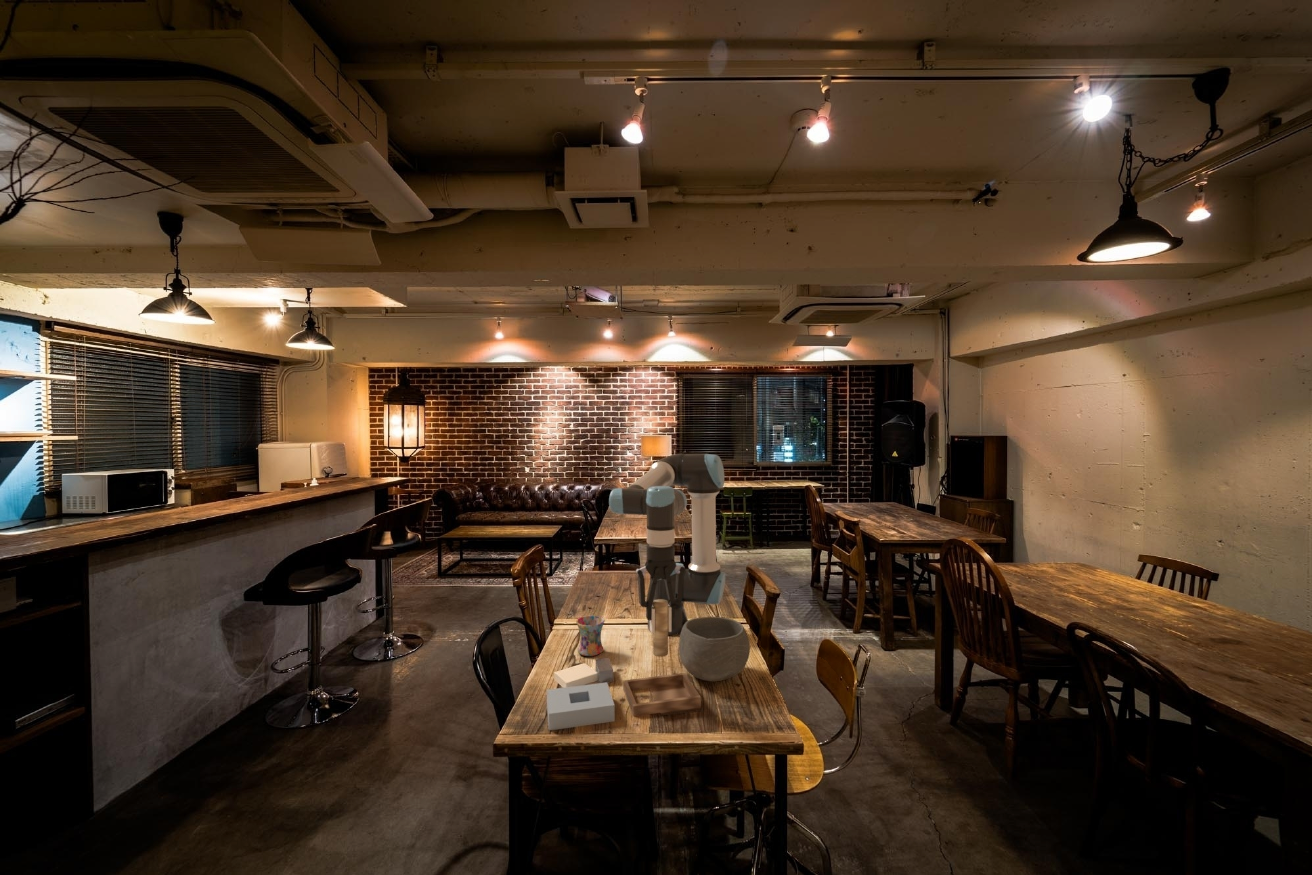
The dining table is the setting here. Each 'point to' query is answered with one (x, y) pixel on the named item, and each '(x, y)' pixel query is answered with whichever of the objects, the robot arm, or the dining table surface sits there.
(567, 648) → the dining table surface
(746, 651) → the bowl
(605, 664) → the block
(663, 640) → the dowel
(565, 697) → the dowel block
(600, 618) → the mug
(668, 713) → the tray
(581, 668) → the cream rectangular block
